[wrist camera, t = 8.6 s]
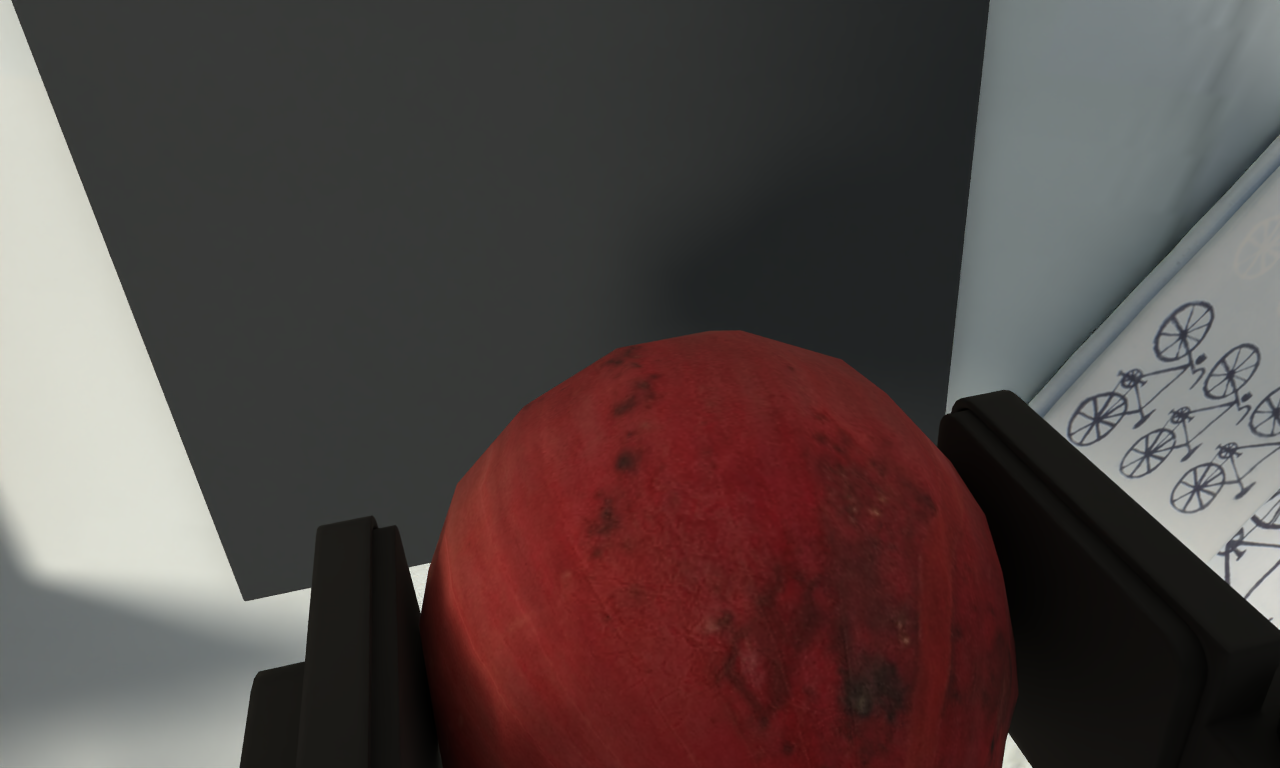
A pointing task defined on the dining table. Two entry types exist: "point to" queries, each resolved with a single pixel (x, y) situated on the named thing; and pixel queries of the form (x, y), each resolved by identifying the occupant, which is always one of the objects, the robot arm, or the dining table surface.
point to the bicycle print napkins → (1195, 389)
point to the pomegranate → (717, 576)
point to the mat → (497, 217)
